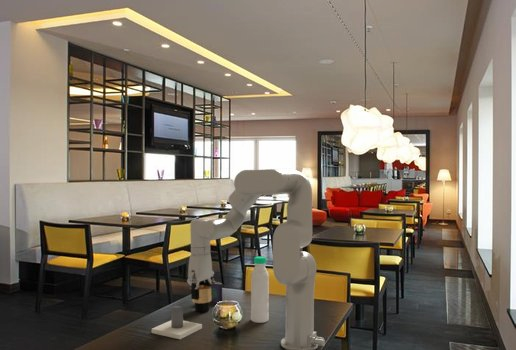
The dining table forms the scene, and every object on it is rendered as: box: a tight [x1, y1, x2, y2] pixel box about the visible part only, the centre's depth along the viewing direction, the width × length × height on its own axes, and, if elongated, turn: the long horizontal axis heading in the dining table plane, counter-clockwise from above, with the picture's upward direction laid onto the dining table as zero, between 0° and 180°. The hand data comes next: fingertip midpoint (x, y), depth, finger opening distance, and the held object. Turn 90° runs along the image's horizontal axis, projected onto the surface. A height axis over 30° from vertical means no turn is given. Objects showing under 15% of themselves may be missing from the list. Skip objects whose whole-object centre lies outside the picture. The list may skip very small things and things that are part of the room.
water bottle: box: [250, 256, 270, 324], centre depth 180 cm, size 7×7×25 cm
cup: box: [194, 281, 211, 314], centre depth 193 cm, size 8×8×12 cm
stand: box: [151, 305, 203, 340], centre depth 169 cm, size 13×13×8 cm
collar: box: [191, 286, 212, 304], centre depth 177 cm, size 7×7×5 cm
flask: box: [210, 278, 223, 305], centre depth 205 cm, size 9×3×11 cm, turn 76°
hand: (201, 296), depth 177 cm, fingers closed on collar, 7 cm apart
